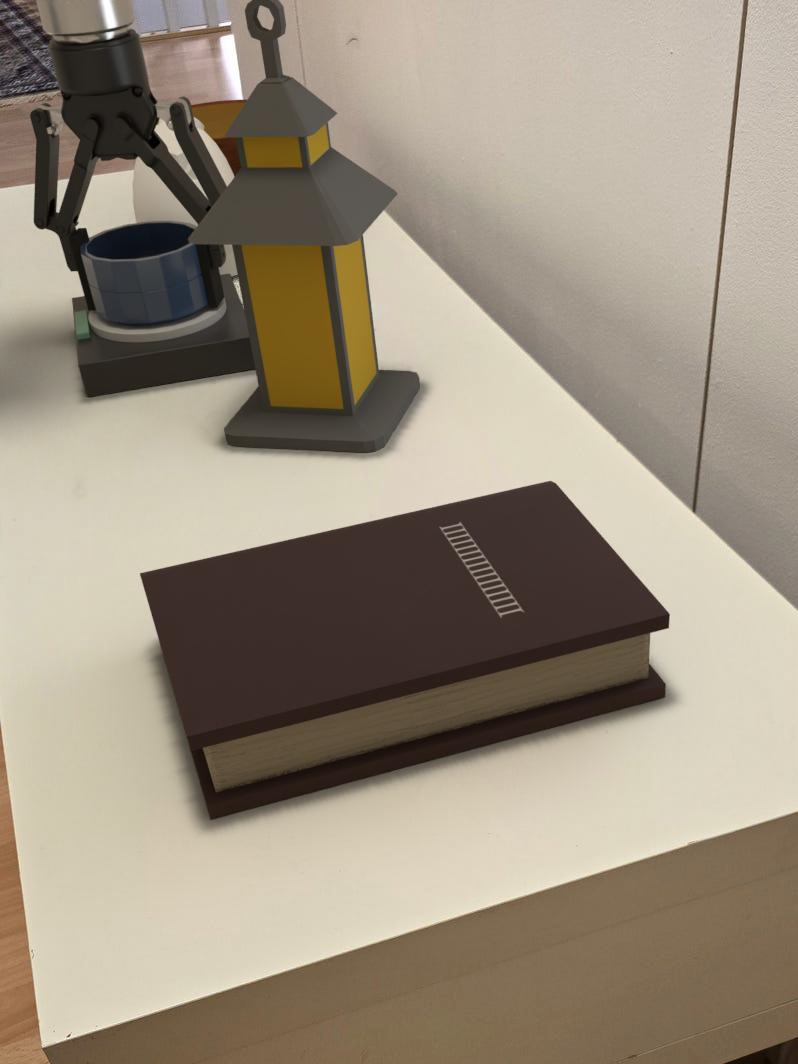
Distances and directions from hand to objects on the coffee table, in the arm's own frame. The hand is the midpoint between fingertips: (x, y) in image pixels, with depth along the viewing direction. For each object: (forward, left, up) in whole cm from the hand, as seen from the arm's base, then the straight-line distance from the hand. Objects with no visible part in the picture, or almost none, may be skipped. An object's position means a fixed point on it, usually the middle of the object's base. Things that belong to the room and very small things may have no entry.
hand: (156, 304), depth 116 cm
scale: (0, 0, -4) cm, 4 cm away
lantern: (+19, -15, -4) cm, 25 cm away
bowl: (-4, +42, -4) cm, 42 cm away
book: (+31, -53, -4) cm, 61 cm away
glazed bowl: (0, 0, 0) cm, 0 cm away
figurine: (-2, +20, -4) cm, 21 cm away
